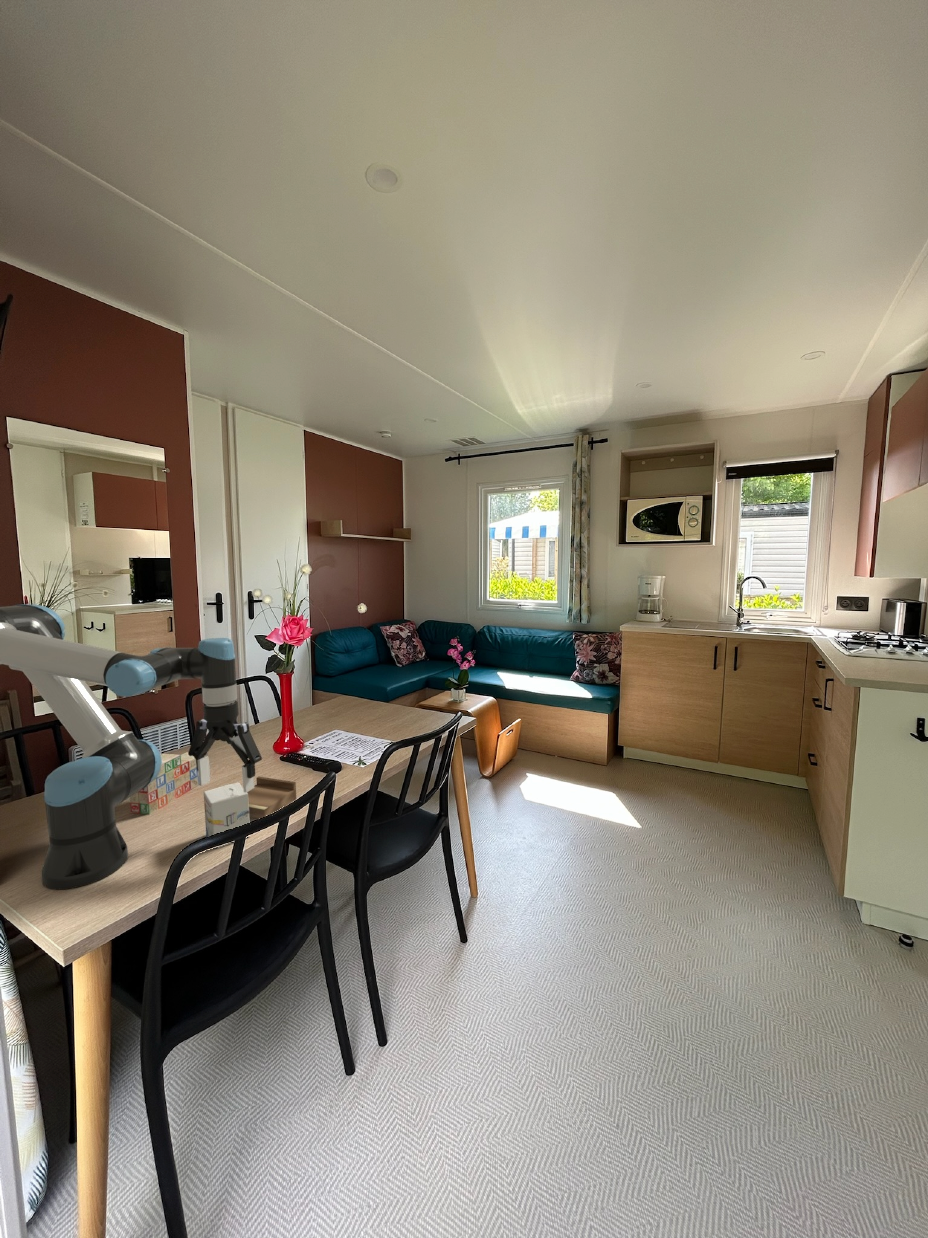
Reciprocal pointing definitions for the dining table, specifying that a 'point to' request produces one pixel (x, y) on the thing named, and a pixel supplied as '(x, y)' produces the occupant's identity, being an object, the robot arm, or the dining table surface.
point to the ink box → (225, 808)
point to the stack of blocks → (167, 784)
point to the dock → (270, 796)
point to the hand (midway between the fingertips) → (226, 786)
